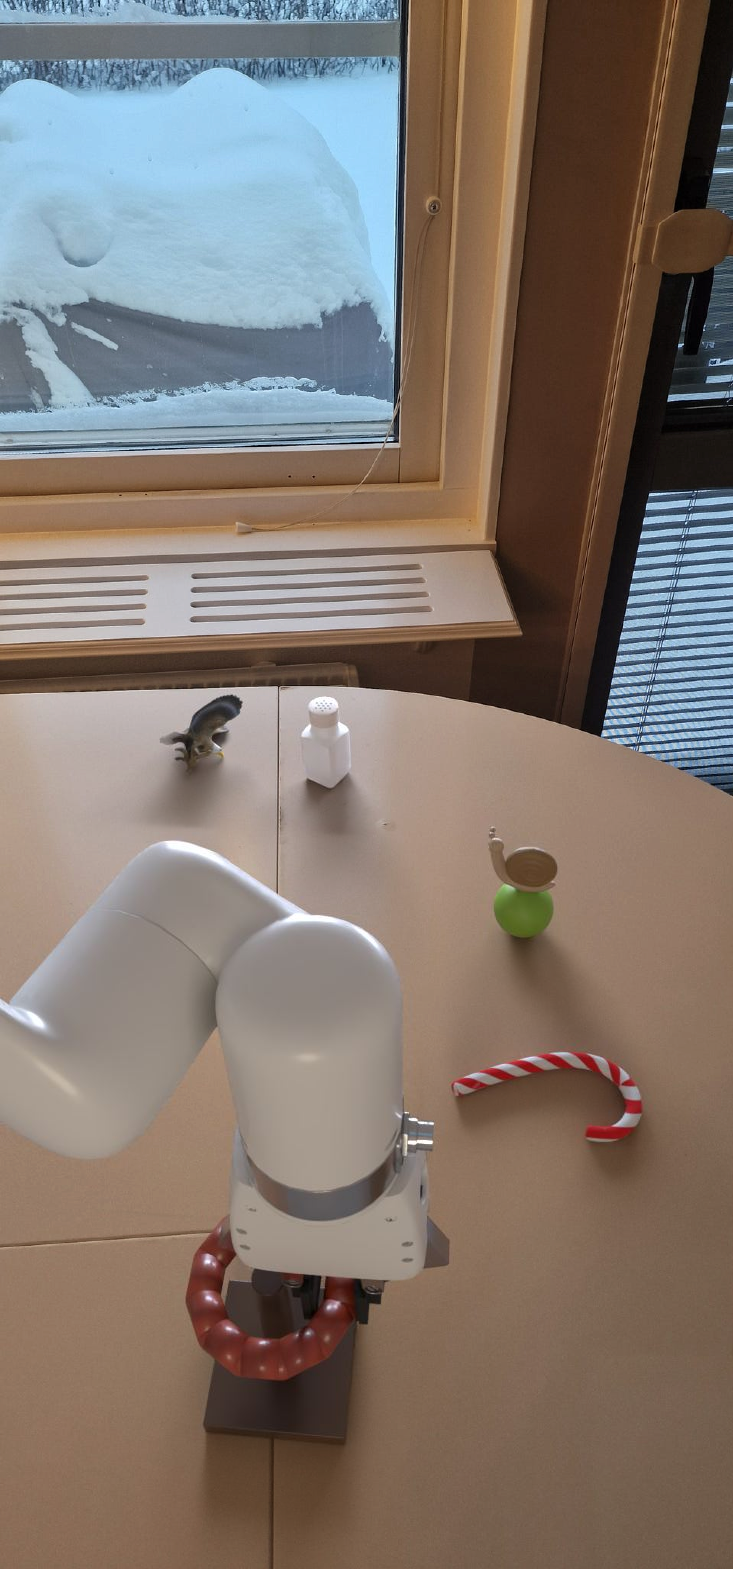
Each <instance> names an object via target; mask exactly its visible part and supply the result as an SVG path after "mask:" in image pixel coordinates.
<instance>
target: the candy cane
mask: <svg viewBox="0 0 733 1569" xmlns="http://www.w3.org/2000/svg"><path fill="white" fill-rule="evenodd" d="M559 1069H580V1070H587V1071H592V1072H595V1073H598V1074H600V1075H602V1076H604V1077H606V1078H607V1079H609V1080H610V1081H611V1082H612V1083H614V1085H616V1087H617V1088H618V1090H619V1091H620V1093H621V1094H622V1097H623V1099H624V1104H625V1111H624V1114H623V1116H622V1118H621V1119H620V1120H619V1121H617V1122H616V1123H615V1124H612V1125H608V1126H598V1125H587V1127H586V1130H585V1135H584V1138H585V1139H586V1140H588V1141H591V1142H596V1143H609V1142H614V1141H619V1140H621V1139H623V1138H625V1137H627V1136H628V1135H630V1133H631V1132H633V1130H635V1128H636V1127H637V1126H638V1124H639V1122H640V1119H641V1117H642V1114H643V1102H642V1097H641V1093H640V1091H639V1089H638V1086H637V1085H636V1084H635V1082H634V1080H633V1079H632V1078H631V1076H630V1075H629V1074H628V1073H627V1072H626V1071H625V1070H624V1069H623V1068H621V1067H620V1066H619V1065H617V1064H616V1063H614V1062H613V1061H610V1060H609V1059H607V1058H604V1057H601V1056H599V1055H595V1054H591V1053H585V1052H577V1051H559V1052H558V1051H557V1052H550V1053H543V1054H537V1055H533V1056H529V1057H524V1058H520V1059H516V1060H512V1061H509V1062H505V1063H502V1064H498V1065H495V1066H492V1067H488V1068H486V1069H482V1070H479V1071H475V1072H474V1073H471V1074H468V1075H466V1076H463V1077H461V1078H458V1079H456V1080H454V1081H452V1083H451V1091H452V1093H453V1094H454V1095H455V1096H456V1097H461V1096H464V1095H467V1094H470V1093H473V1092H475V1091H478V1090H481V1089H483V1088H486V1087H491V1086H492V1085H495V1084H498V1083H502V1082H506V1081H509V1080H512V1079H516V1078H519V1077H524V1076H527V1075H532V1074H535V1073H540V1072H545V1071H551V1070H559Z"/></svg>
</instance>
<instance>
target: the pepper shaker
mask: <svg viewBox="0 0 733 1569" xmlns="http://www.w3.org/2000/svg"><path fill="white" fill-rule="evenodd" d="M307 711H308V712H307V713H308V723H309V724H308V725H307V727H305V729H304V730H303V731H302V732H301V735H300V742H301V754H302V755H301V756H302V767H303V775H304V777H305V778H306V779H308V780H310V781H313V782H315V783H316V784H319V785H321V786H323V787H325V788H328V789H333V788H334V787H335V786H337V784H338V783H339V782H341V780H343V779H344V778H345V777H346V776H347V775H348V774H349V773H350V771H351V769H352V762H351V761H352V760H351V743H350V742H351V740H350V738H351V737H350V730H349V728H348V726H347V725H344V724H343V723H341V722H340V706H339V702H338V701H337V700H335V699H334V697H329V696H320V697H316V698H314V699H312V700H310V701H309V703H308V705H307Z"/></svg>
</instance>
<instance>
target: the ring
mask: <svg viewBox="0 0 733 1569" xmlns="http://www.w3.org/2000/svg"><path fill="white" fill-rule="evenodd" d="M227 1216H228V1214H227V1215H225V1216H224V1217H223V1218H222V1219H221V1220H219V1221H218V1223H217V1225H216V1226H215V1227H214V1229H212V1231H211V1232H210V1233H209V1235H208V1236H207V1237H206V1238H205V1240H204V1241H203V1242H202V1243H201V1245H200V1246H199V1247H198V1249H197V1250H196V1251H195V1253H194V1256H193V1259H192V1264H191V1269H190V1274H189V1278H188V1283H187V1288H186V1292H185V1307H186V1309H187V1312H188V1316H189V1318H190V1321H191V1325H192V1328H193V1330H194V1333H195V1337H196V1340H197V1343H198V1345H199V1347H200V1348H201V1349H202V1351H204V1352H205V1353H206V1354H208V1355H209V1356H210V1357H211V1358H213V1359H214V1361H215V1360H216V1361H218V1362H219V1363H220V1364H221V1365H223V1366H224V1367H225V1368H226V1369H228V1370H229V1371H230V1372H231V1373H233V1374H234V1375H236V1376H238V1377H244V1378H257V1379H269V1380H287V1379H289V1378H291V1377H293V1376H295V1375H297V1374H299V1373H301V1372H303V1371H304V1370H306V1369H308V1368H310V1367H312V1366H314V1365H316V1364H318V1363H320V1362H322V1361H324V1360H326V1359H327V1358H328V1357H329V1356H330V1355H331V1354H332V1352H333V1351H334V1349H335V1348H336V1346H337V1345H338V1343H339V1342H340V1340H341V1339H342V1337H343V1336H344V1334H345V1333H346V1331H347V1330H348V1328H349V1327H350V1325H351V1324H352V1322H353V1321H354V1319H355V1308H354V1286H355V1278H346V1277H332V1276H325V1280H324V1297H323V1302H322V1304H321V1305H320V1306H319V1308H318V1309H317V1311H316V1312H315V1314H314V1315H313V1317H312V1318H311V1319H310V1321H309V1322H308V1324H307V1325H306V1326H305V1327H303V1328H301V1329H299V1330H297V1331H295V1332H293V1333H291V1334H289V1335H287V1336H285V1337H283V1338H281V1339H272V1338H259V1337H250V1336H249V1335H248V1334H247V1333H245V1332H244V1331H243V1330H241V1329H240V1328H239V1327H238V1326H236V1325H235V1324H234V1323H232V1322H231V1321H230V1320H229V1317H228V1314H227V1311H226V1309H225V1302H224V1300H223V1297H222V1291H223V1285H224V1281H225V1276H226V1275H225V1274H226V1269H227V1268H228V1267H229V1265H230V1264H231V1263H232V1261H233V1260H234V1259H235V1257H236V1256H237V1254H236V1252H233V1251H229V1250H225V1249H222V1248H220V1247H219V1246H218V1241H219V1236H220V1231H221V1226H222V1222H223V1221H224V1219H225V1218H226V1217H227Z"/></svg>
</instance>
